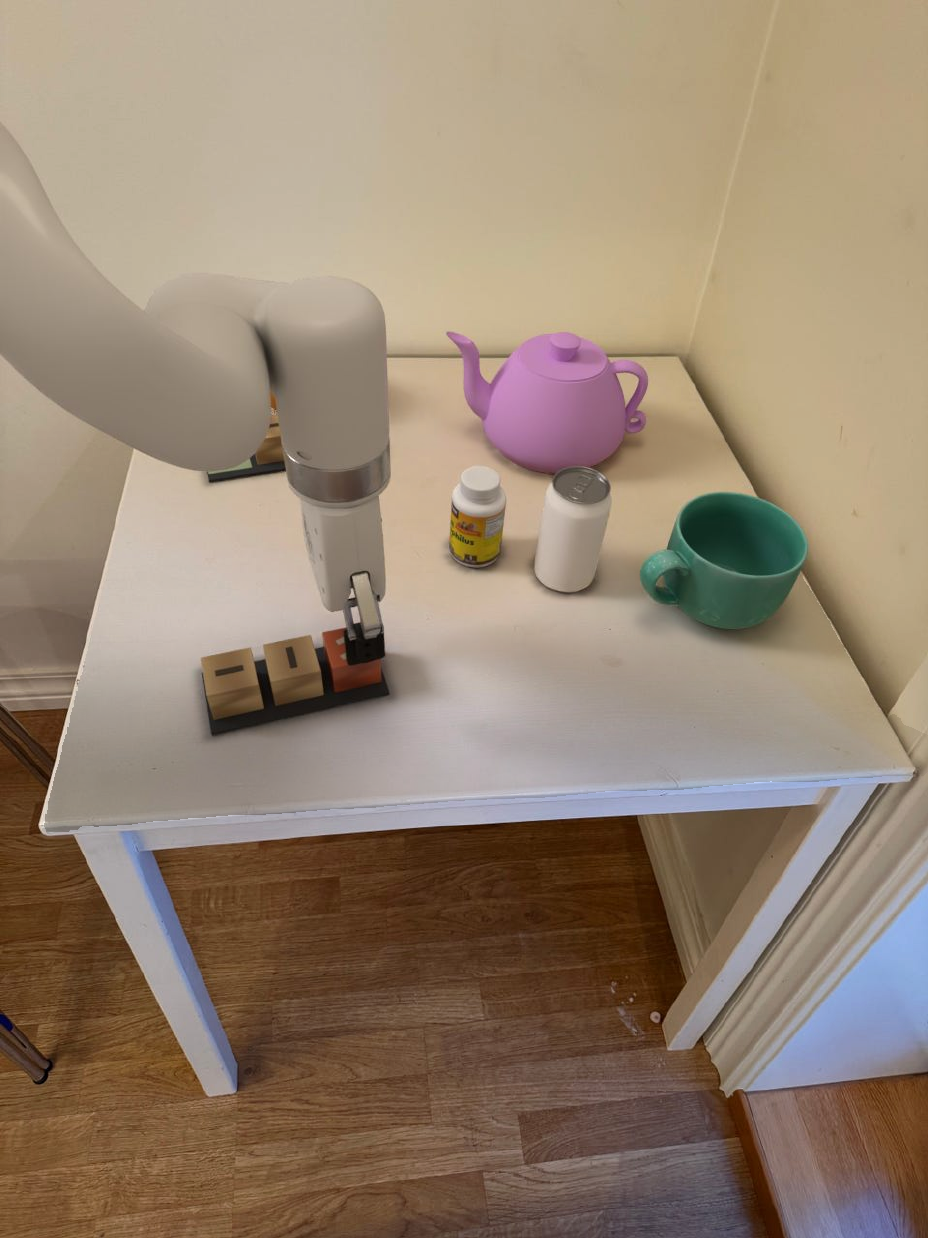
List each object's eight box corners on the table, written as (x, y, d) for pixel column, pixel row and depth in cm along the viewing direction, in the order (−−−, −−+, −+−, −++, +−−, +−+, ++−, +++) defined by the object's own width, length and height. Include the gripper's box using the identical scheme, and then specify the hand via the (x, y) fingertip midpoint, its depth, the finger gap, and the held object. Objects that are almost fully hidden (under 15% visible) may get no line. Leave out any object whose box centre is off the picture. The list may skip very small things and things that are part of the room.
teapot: (632, 403, 110) (655, 305, 100) (648, 487, 98) (676, 387, 88) (445, 392, 110) (448, 293, 100) (439, 476, 98) (442, 373, 88)
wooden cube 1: (213, 720, 73) (206, 695, 70) (207, 682, 76) (200, 656, 73) (264, 709, 74) (258, 684, 71) (256, 671, 77) (250, 646, 74)
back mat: (209, 482, 95) (208, 479, 95) (202, 446, 99) (201, 443, 99) (346, 461, 99) (346, 457, 98) (333, 427, 103) (333, 424, 103)
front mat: (211, 736, 72) (211, 733, 72) (202, 675, 77) (201, 672, 76) (389, 694, 76) (389, 692, 76) (370, 639, 80) (370, 636, 80)
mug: (739, 549, 92) (767, 482, 85) (799, 632, 84) (835, 566, 77) (602, 574, 88) (618, 505, 81) (651, 663, 80) (675, 596, 73)
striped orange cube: (334, 692, 75) (332, 667, 73) (324, 657, 78) (321, 631, 75) (381, 682, 77) (380, 657, 74) (370, 647, 79) (368, 621, 77)
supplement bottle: (438, 547, 90) (441, 472, 82) (479, 528, 92) (485, 453, 84) (469, 577, 87) (475, 502, 79) (510, 557, 89) (520, 482, 82)
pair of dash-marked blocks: (257, 465, 97) (253, 439, 94) (252, 443, 100) (247, 417, 97) (340, 452, 99) (338, 426, 97) (332, 431, 102) (330, 405, 99)
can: (524, 583, 87) (538, 493, 78) (544, 545, 91) (560, 456, 82) (583, 602, 85) (604, 514, 76) (601, 563, 89) (623, 474, 80)
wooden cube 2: (275, 706, 74) (270, 681, 71) (267, 669, 77) (262, 643, 74) (324, 695, 75) (320, 670, 72) (314, 659, 78) (310, 633, 75)
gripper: (265, 400, 64) (291, 559, 77) (309, 548, 53) (331, 705, 66) (360, 386, 66) (370, 544, 78) (422, 527, 55) (421, 684, 68)
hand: (352, 617), depth 72 cm, fingers open, 9 cm apart
